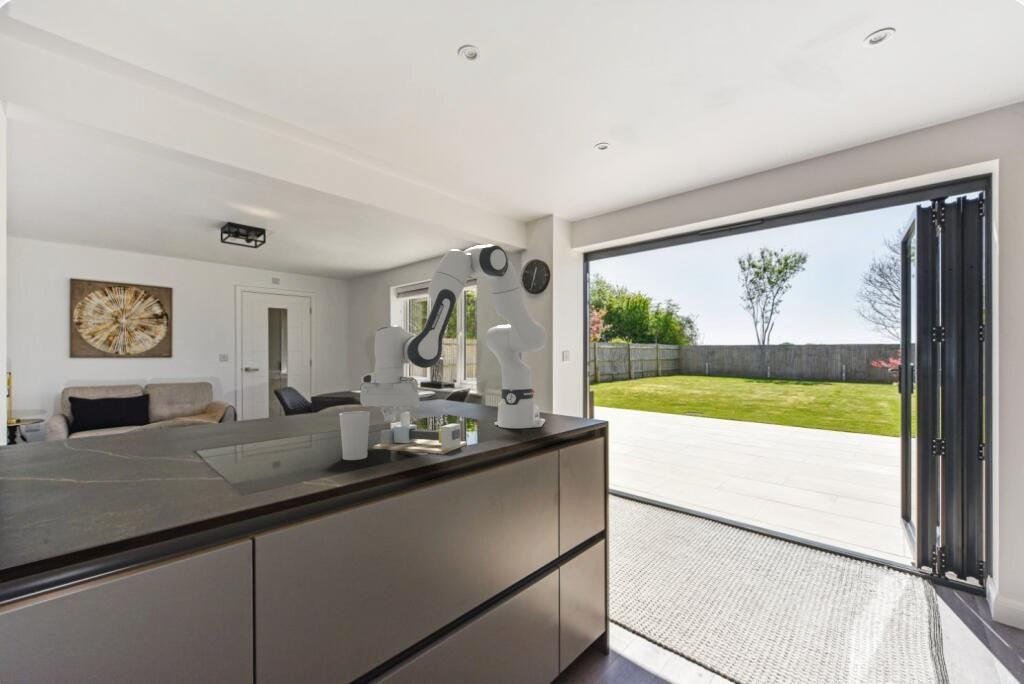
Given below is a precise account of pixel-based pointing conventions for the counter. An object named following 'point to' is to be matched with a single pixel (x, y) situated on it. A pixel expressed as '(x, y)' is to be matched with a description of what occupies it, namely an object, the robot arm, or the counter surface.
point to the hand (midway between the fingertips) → (389, 421)
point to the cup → (354, 434)
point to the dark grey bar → (424, 434)
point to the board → (419, 446)
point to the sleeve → (404, 429)
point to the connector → (450, 435)
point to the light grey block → (387, 437)
